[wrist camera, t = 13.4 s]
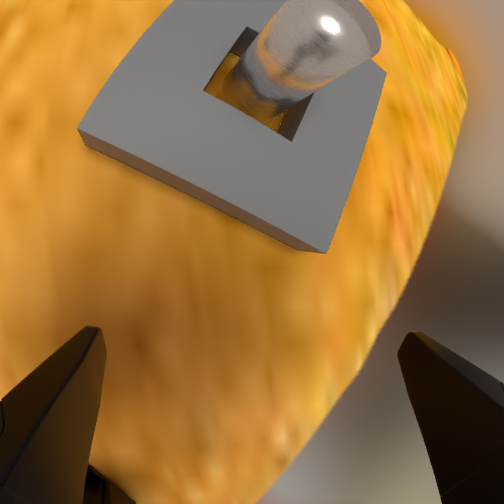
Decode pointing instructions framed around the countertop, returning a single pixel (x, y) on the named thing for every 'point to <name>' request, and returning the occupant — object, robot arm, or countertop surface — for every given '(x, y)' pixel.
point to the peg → (299, 55)
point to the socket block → (234, 125)
